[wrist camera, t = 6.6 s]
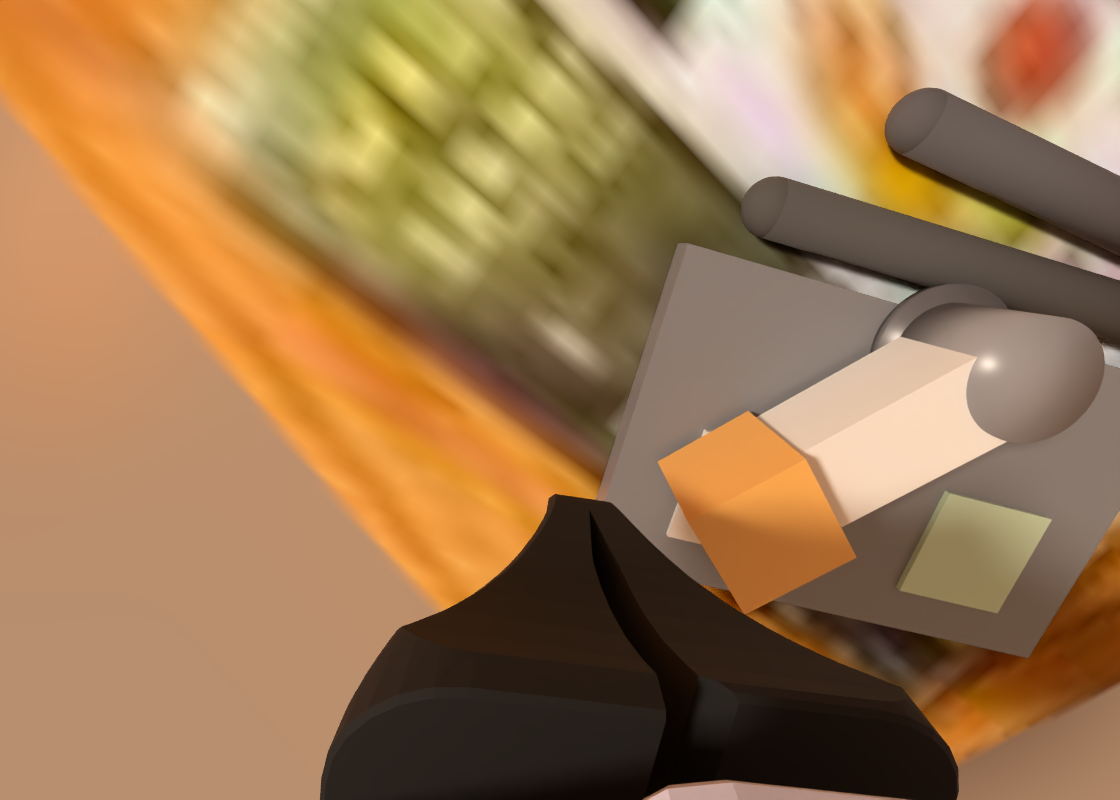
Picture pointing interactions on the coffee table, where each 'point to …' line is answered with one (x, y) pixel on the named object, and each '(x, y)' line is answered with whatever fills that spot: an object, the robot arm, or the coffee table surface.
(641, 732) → the robot arm
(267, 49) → the coffee table surface
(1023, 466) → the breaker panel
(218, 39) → the coffee table surface
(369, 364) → the coffee table surface
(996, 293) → the dark grey rod
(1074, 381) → the lever
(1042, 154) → the dark grey rounded rod
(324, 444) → the coffee table surface
